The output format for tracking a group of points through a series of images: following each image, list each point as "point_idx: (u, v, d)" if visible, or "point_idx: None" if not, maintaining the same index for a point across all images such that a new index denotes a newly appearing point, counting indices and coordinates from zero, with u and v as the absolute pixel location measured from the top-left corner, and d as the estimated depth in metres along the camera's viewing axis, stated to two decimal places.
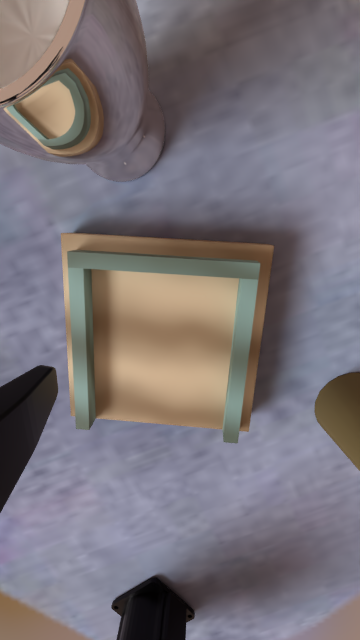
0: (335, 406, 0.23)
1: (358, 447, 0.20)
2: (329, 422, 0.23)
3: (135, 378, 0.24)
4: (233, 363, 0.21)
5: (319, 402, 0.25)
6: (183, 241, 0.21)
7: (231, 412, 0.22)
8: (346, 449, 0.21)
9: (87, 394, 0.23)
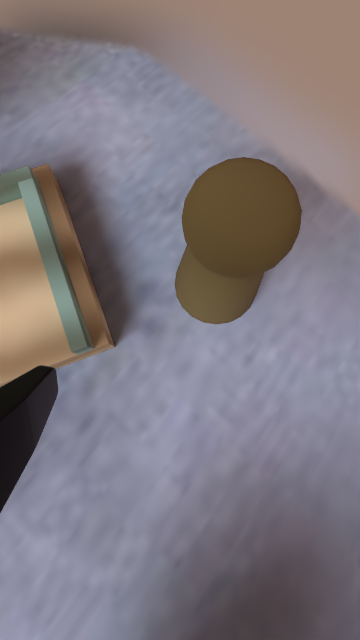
0: (178, 271, 0.21)
1: (188, 261, 0.18)
2: (183, 289, 0.21)
3: None
4: (43, 258, 0.20)
5: (177, 290, 0.23)
6: None
7: (63, 311, 0.19)
8: (192, 284, 0.18)
9: None
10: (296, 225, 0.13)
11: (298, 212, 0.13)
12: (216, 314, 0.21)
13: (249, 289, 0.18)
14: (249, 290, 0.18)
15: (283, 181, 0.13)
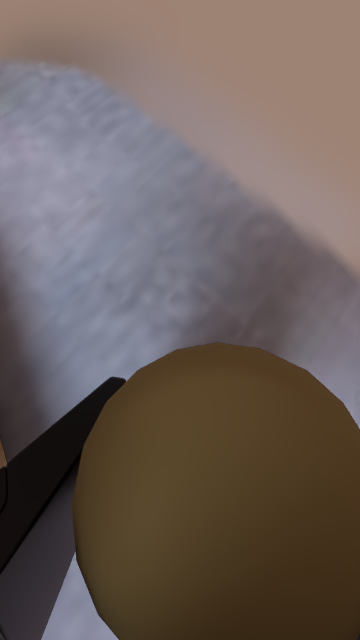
0: None
1: None
2: None
3: None
4: None
5: None
6: None
7: None
8: None
9: None
10: None
11: None
12: None
13: None
14: None
15: (340, 444, 0.04)
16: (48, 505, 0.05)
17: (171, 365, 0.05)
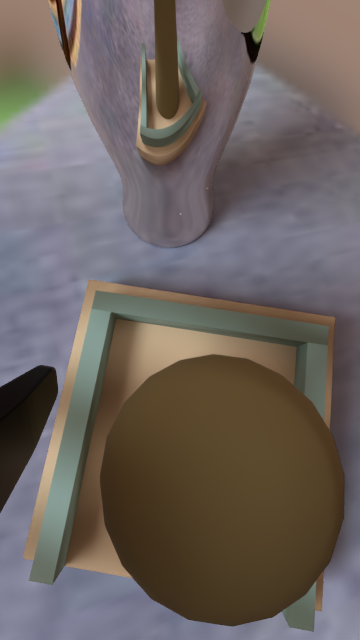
0: None
1: None
2: None
3: None
4: None
5: None
6: (231, 302, 0.18)
7: None
8: None
9: (68, 507, 0.14)
10: None
11: (342, 501, 0.06)
12: None
13: None
14: None
15: (305, 434, 0.06)
16: None
17: (176, 373, 0.07)
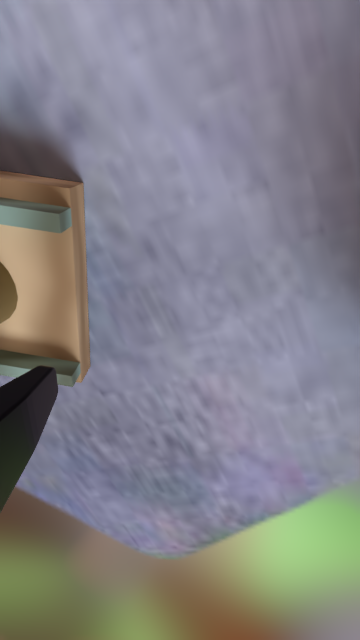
0: None
1: None
2: None
3: (23, 317, 0.21)
4: None
5: None
6: None
7: (13, 220, 0.16)
8: None
9: (30, 369, 0.22)
10: None
11: None
12: None
13: None
14: None
15: None
16: None
17: None
